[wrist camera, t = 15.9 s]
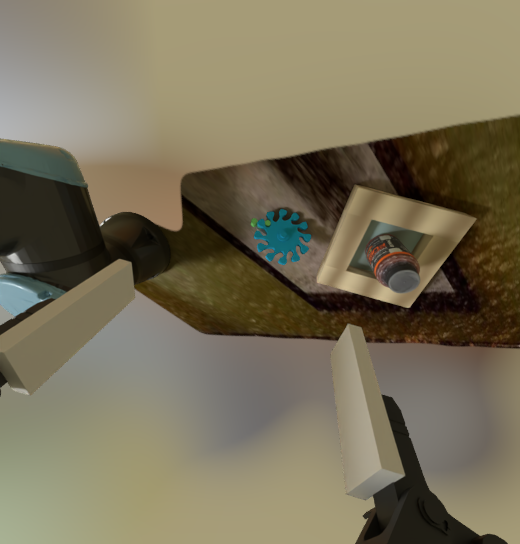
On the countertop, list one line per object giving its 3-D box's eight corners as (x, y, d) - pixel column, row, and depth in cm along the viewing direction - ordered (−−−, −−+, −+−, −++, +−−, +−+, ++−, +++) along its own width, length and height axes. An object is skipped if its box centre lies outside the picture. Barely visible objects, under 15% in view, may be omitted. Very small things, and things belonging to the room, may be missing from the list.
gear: (322, 227, 39) (294, 274, 37) (311, 239, 45) (286, 280, 43) (268, 193, 40) (237, 238, 37) (264, 209, 45) (237, 249, 43)
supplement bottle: (373, 228, 39) (395, 258, 30) (406, 237, 39) (439, 269, 30) (358, 258, 42) (373, 293, 33) (389, 266, 42) (414, 304, 33)
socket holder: (316, 274, 46) (317, 282, 44) (354, 184, 37) (358, 187, 34) (403, 298, 45) (408, 308, 43) (464, 212, 36) (476, 218, 33)
